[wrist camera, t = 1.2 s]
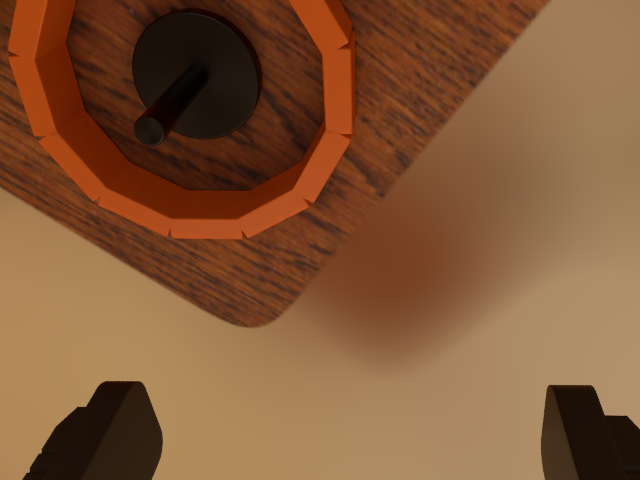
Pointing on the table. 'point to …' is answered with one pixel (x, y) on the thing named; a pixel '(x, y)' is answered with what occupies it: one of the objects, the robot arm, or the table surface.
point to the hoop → (150, 189)
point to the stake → (194, 77)
